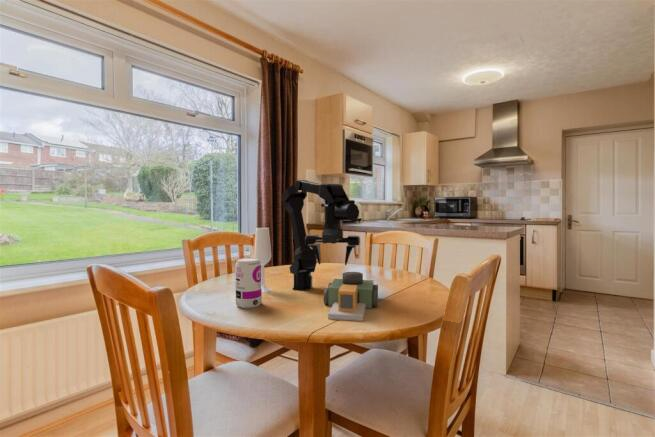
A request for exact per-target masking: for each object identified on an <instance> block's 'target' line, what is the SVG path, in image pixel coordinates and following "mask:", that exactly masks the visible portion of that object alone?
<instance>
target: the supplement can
mask: <svg viewBox="0 0 655 437" xmlns="http://www.w3.org/2000/svg"><path fill="white" fill-rule="evenodd" d="M234 267H235V268H234V269H235V272H234V273H235V305H236V306H237V307H238V306H239V307H238V308H240V307H241V308H240V309H254V308H257V307H259V306H260V305H261V304H262V300H263V299H262V298H263V297H262V295H263V293H262V288H261V286H262V283H261V263H260V261H259V259H257V258H254V257H244V258H239V259H237V261H236V263H235V266H234Z"/></svg>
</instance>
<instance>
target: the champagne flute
mask: <svg viewBox="0 0 655 437" xmlns="http://www.w3.org/2000/svg"><path fill="white" fill-rule="evenodd" d="M269 228H270V227H256V228H255V235H254V236H255V238H254V248H253V249H254V251H253V252H254V253H253V258H257V259H259V261H260V263H261V288H262V294H265V293H271V292H273V289H271V287H270V288H269V286H266V284H265V272H266V271H265V266H266V265H268V263H269V262H270V261H271V259H272V246H271V245H272V244H271V238H270V237H271V236H270V229H269Z"/></svg>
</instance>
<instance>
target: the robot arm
mask: <svg viewBox="0 0 655 437" xmlns="http://www.w3.org/2000/svg"><path fill="white" fill-rule="evenodd" d="M308 193H312V194H315V195H317V196H318V197H319V198H320V199H322V200H323V202H322V203H321V204H320V207H321V208H324V226H323V230H322V232H321V236H320V235H319V234H309V235H307V231H306V227H305V222H304V217H303V213H302V212H303V211H302V210H303V208H304V206H305V199H306V198H307V196H308ZM281 202H282V205H283V208H284V209H285V211H286V212H287V213H288V214H289V220H290V224H291V229H292V234H293V239H294V240H293V241H294V245H295V251H294V253H293V262H292V263H291V265H290V266H289V273H290V274H292V275H293V287H292V290H295V291H309V290H310V289H311V288H313V275H312V273H315V271H316V266H317V263H318V265H321V263H322V262H321V260H322V255H321V243H322V244H332V245H333V244H337V243H340V244H341V243H342V244H344V243H345V244H347V245H346V247H345V248H346V249H345V258H344V265H345V266H347V265H348V262H349V260H350V259H349V258H350V256H351V252H352V251H353V249H355V248H356V247H357V246H360V244H361V237H360V236H359V235H347V237H344V228H342V221H345V222H355V221H356V220H358V218H359V216H360V210H359V207H358V205H357V204H356V203H355V200H353V199H349V197H348V194H347V193H346V192H345V190H344V187H343V185H342V184H341V183H318V182H314V181H309V180H307V179H306V180H305V179H298V180H295V182H294V183H293V184H292V185H290V186H289V187H287V188H286V189H285V190H284V192H283V193H282V195H281Z"/></svg>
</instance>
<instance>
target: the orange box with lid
mask: <svg viewBox="0 0 655 437" xmlns="http://www.w3.org/2000/svg"><path fill="white" fill-rule="evenodd" d="M356 307H357V285H341V287H340V289H339V291H338V311H347V312H355V310H356Z"/></svg>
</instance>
